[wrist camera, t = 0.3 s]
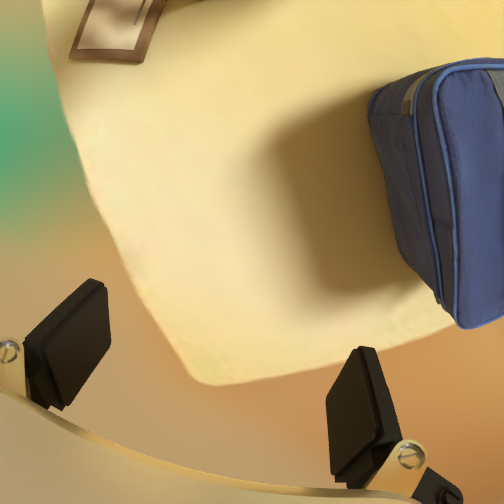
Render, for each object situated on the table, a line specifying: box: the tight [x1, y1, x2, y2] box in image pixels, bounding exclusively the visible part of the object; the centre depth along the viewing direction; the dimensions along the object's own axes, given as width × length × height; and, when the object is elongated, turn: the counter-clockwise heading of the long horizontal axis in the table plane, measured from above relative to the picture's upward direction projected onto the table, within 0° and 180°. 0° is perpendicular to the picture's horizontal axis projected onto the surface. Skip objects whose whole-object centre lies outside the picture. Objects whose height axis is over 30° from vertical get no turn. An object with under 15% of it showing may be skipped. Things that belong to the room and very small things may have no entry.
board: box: [69, 0, 167, 62], centre depth 29 cm, size 17×14×2 cm
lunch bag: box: [367, 57, 504, 329], centre depth 25 cm, size 31×21×20 cm
